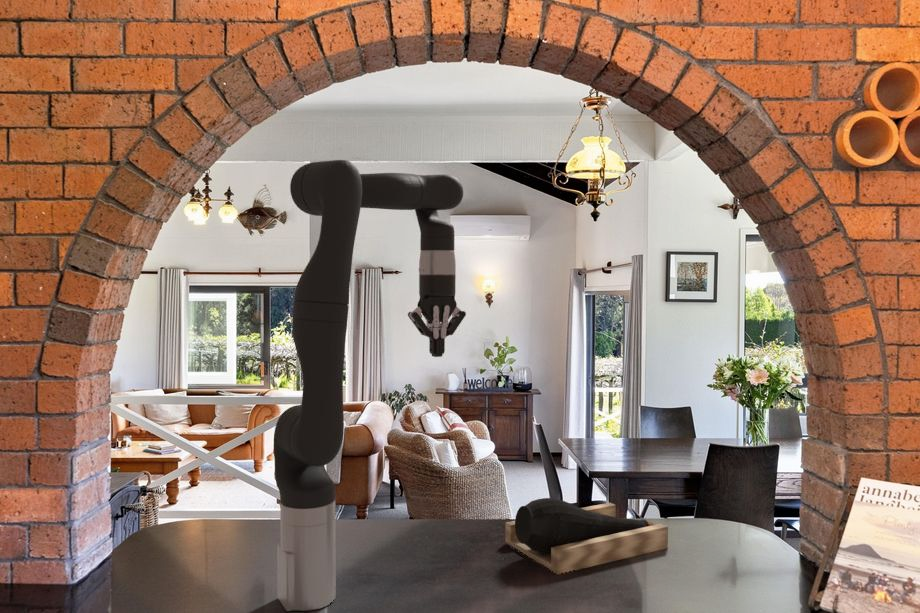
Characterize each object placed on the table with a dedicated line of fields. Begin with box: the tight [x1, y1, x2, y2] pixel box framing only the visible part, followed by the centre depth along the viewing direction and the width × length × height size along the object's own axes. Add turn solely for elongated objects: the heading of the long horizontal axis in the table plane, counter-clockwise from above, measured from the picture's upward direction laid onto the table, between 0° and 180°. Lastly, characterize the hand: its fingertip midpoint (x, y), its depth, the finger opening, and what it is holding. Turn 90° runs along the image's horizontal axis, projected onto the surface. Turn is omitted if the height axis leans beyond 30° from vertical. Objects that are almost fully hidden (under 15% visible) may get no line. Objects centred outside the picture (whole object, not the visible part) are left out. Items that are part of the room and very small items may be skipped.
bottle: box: [514, 497, 655, 554], centre depth 148 cm, size 11×11×30 cm
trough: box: [505, 502, 669, 575], centre depth 151 cm, size 28×18×4 cm, turn 119°
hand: (437, 356), depth 152 cm, fingers closed
